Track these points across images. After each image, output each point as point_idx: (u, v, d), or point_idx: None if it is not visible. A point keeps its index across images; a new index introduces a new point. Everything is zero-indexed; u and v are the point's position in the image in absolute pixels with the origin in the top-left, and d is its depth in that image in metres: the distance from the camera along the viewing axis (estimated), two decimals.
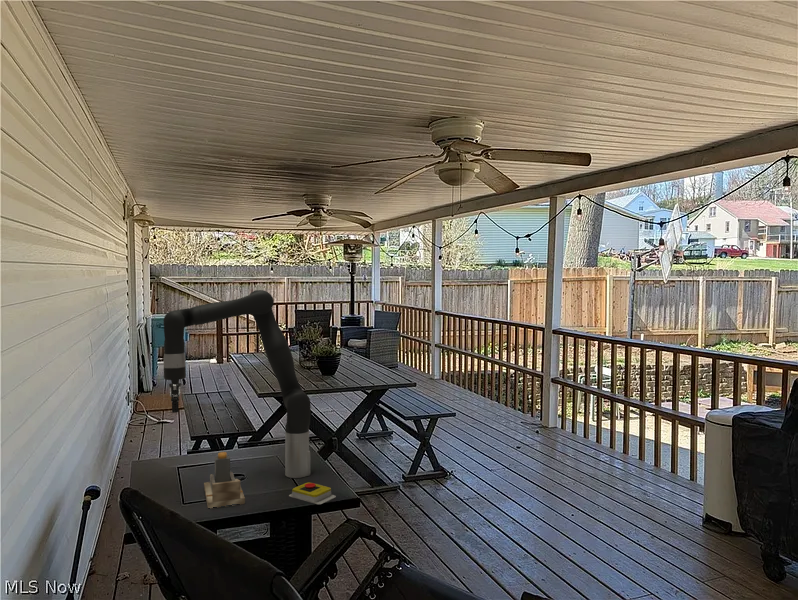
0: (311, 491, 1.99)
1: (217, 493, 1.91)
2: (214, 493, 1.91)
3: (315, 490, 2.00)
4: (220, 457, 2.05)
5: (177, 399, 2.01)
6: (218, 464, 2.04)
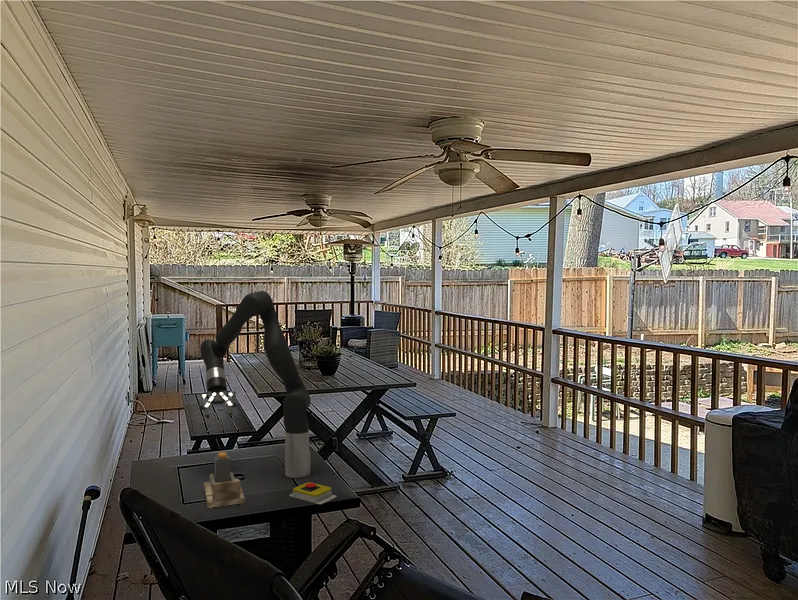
0: (312, 491, 1.99)
1: (217, 493, 1.91)
2: (214, 493, 1.91)
3: (316, 490, 2.01)
4: (220, 457, 2.05)
5: (199, 405, 2.18)
6: (218, 464, 2.04)
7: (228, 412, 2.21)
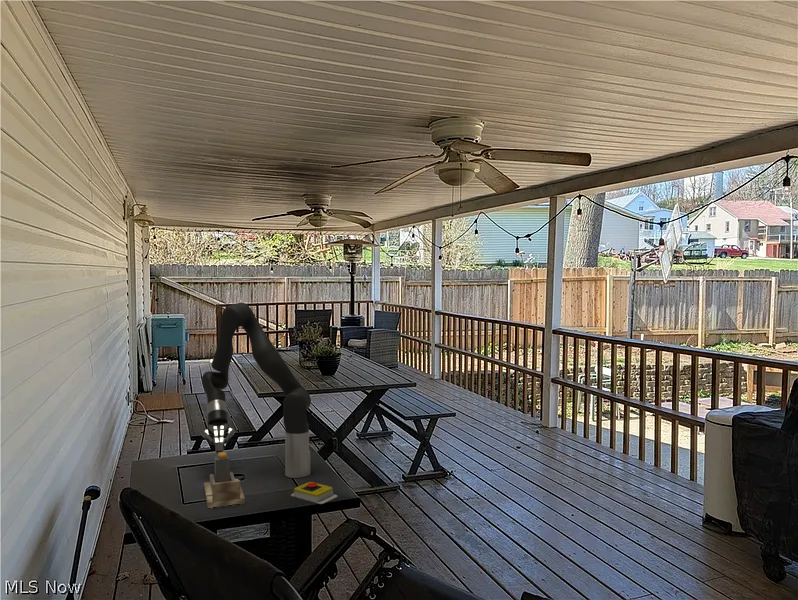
0: (313, 491, 2.00)
1: (217, 493, 1.91)
2: (214, 493, 1.91)
3: (317, 490, 2.01)
4: (220, 457, 2.05)
5: (210, 440, 2.17)
6: (218, 464, 2.04)
7: None
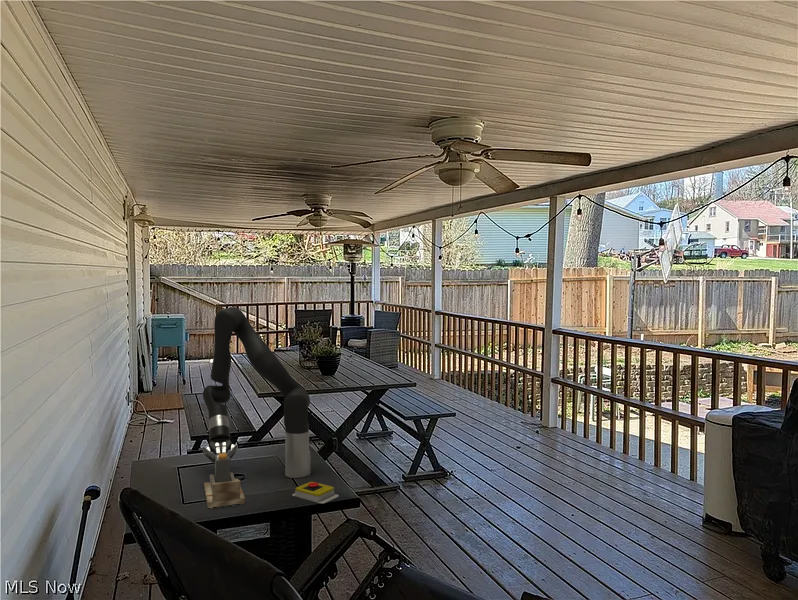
0: (314, 491, 2.00)
1: (217, 493, 1.91)
2: (214, 493, 1.91)
3: (318, 489, 2.01)
4: (220, 458, 2.04)
5: (212, 458, 2.10)
6: (219, 465, 2.03)
7: None
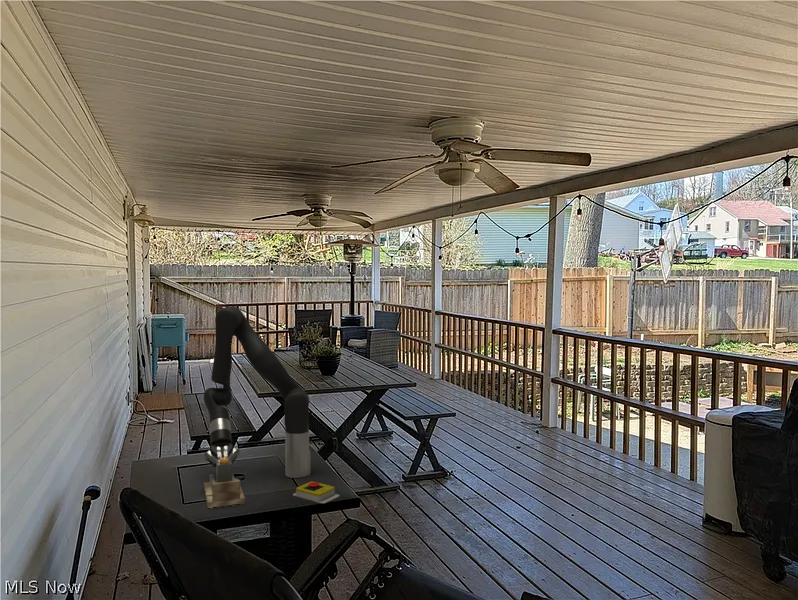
0: (315, 490, 2.00)
1: (217, 493, 1.91)
2: (214, 493, 1.91)
3: (319, 489, 2.01)
4: (222, 463, 1.99)
5: None
6: (220, 469, 1.98)
7: None
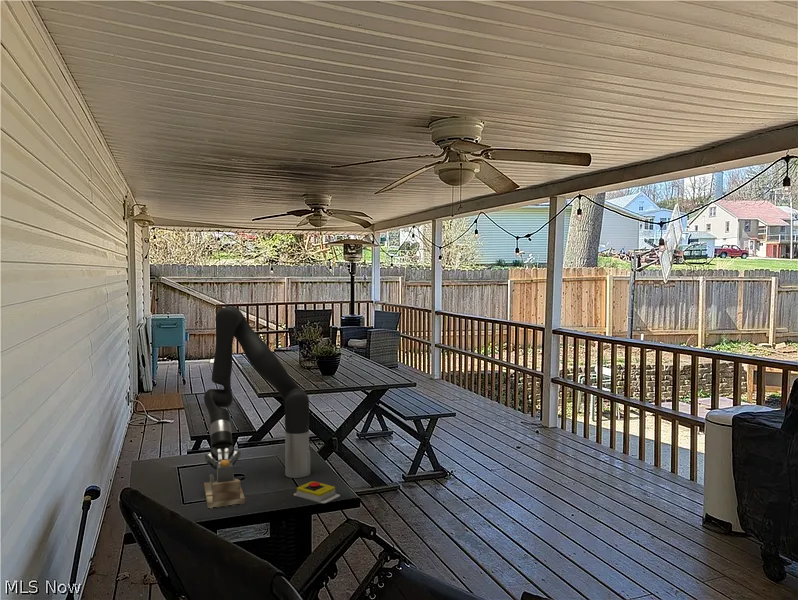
0: (316, 490, 2.00)
1: (217, 493, 1.91)
2: (214, 493, 1.91)
3: (319, 489, 2.01)
4: (223, 465, 1.96)
5: (214, 465, 2.02)
6: (221, 472, 1.95)
7: None
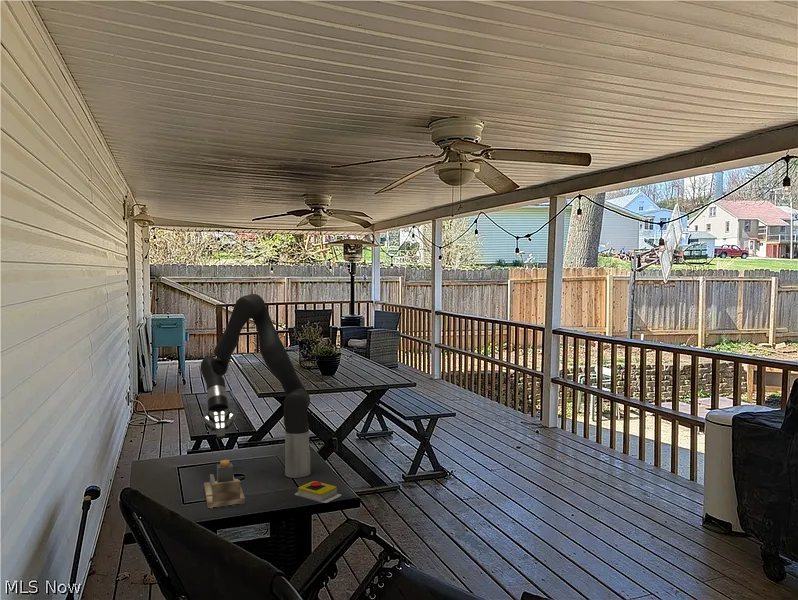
0: (317, 490, 2.01)
1: (217, 493, 1.91)
2: (214, 493, 1.91)
3: (321, 489, 2.02)
4: (223, 465, 1.96)
5: (211, 426, 2.14)
6: (221, 472, 1.95)
7: None
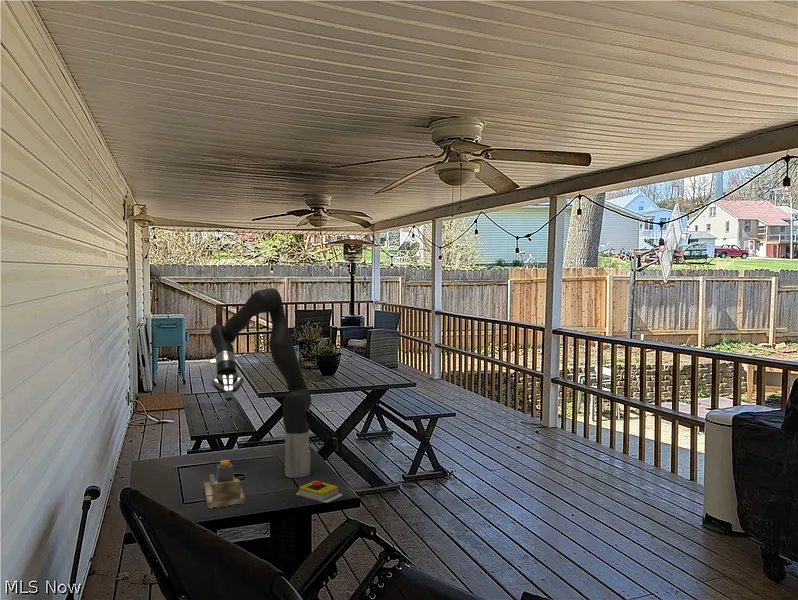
0: (319, 490, 2.01)
1: (217, 493, 1.91)
2: (214, 493, 1.91)
3: (322, 488, 2.02)
4: (223, 465, 1.96)
5: (220, 388, 2.24)
6: (221, 472, 1.95)
7: None
